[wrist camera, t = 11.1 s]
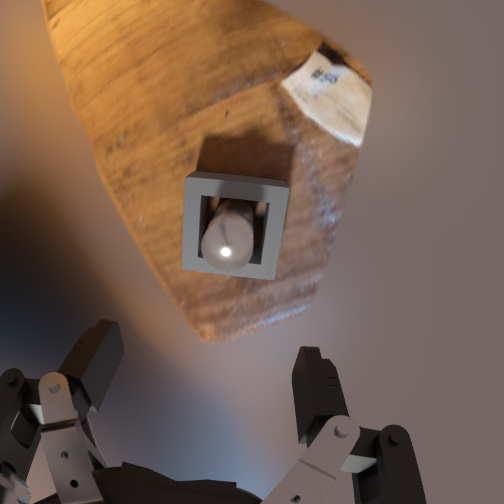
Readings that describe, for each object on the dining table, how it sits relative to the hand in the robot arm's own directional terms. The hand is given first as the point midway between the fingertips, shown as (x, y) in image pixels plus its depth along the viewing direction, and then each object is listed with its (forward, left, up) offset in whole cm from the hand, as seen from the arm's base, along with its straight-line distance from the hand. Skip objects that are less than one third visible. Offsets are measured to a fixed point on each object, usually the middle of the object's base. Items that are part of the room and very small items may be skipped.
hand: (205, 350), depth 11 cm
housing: (0, 0, -19) cm, 19 cm away
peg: (0, 0, -19) cm, 19 cm away
